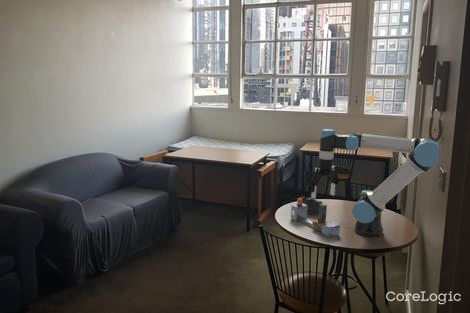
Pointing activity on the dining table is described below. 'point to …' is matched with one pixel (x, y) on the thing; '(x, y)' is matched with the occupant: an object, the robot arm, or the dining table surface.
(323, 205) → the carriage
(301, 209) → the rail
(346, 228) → the dining table surface
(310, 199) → the camera
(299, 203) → the plunger
